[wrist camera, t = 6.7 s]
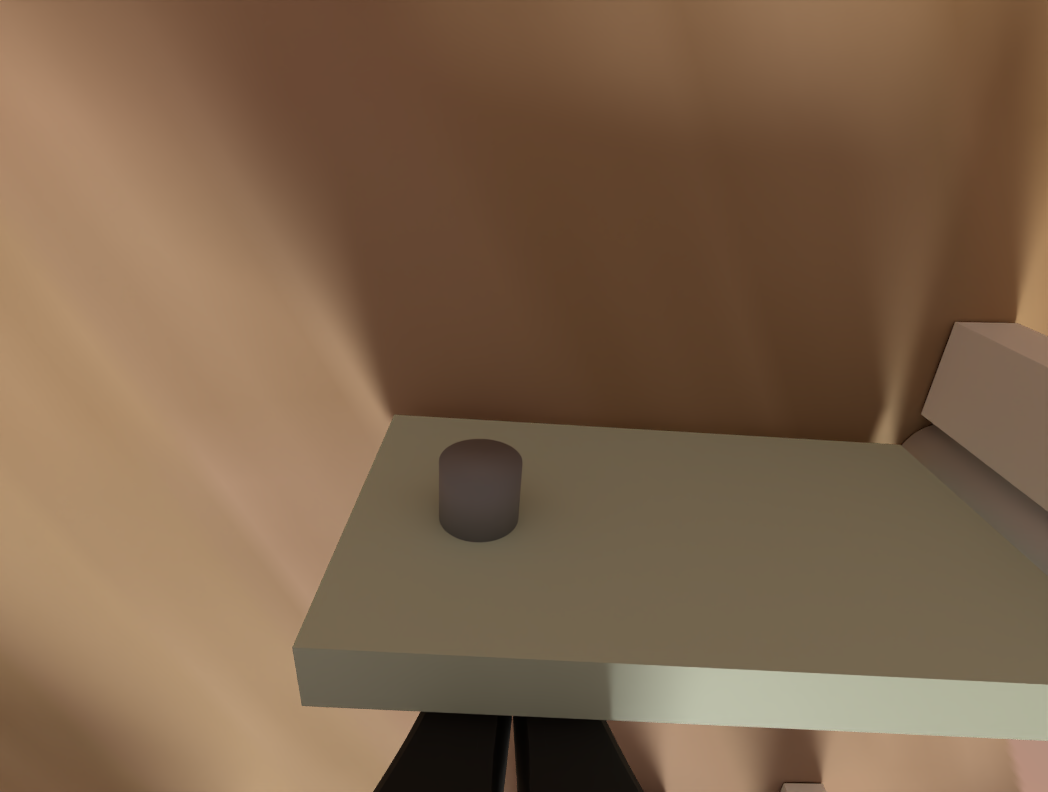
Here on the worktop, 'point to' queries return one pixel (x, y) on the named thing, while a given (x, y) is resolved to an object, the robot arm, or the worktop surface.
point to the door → (674, 586)
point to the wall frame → (990, 435)
